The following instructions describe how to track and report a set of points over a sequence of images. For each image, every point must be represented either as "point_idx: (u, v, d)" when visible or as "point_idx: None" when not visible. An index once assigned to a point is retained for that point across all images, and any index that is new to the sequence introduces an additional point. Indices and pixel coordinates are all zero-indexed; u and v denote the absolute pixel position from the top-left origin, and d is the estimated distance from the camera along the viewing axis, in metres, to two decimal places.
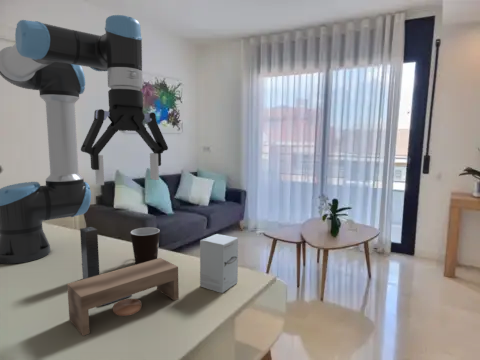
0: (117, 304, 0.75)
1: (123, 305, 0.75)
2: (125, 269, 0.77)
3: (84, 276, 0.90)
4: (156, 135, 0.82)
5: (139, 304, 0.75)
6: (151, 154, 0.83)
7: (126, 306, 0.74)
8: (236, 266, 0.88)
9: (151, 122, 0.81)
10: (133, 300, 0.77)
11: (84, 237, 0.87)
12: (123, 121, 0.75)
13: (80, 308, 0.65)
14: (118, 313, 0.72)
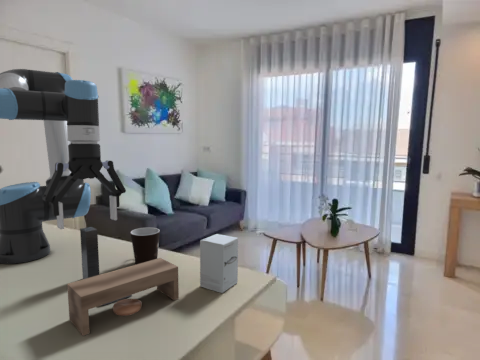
0: (117, 304, 0.75)
1: (123, 305, 0.75)
2: (125, 269, 0.77)
3: (84, 276, 0.90)
4: (114, 180, 0.92)
5: (139, 303, 0.76)
6: (110, 197, 0.92)
7: (126, 305, 0.74)
8: (236, 266, 0.88)
9: (109, 169, 0.90)
10: (132, 300, 0.77)
11: (84, 237, 0.87)
12: (81, 171, 0.84)
13: (80, 308, 0.65)
14: (119, 312, 0.72)
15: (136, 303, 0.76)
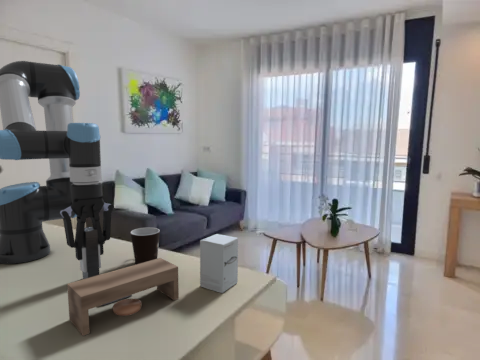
0: (116, 305, 0.75)
1: (123, 305, 0.75)
2: (125, 269, 0.77)
3: (84, 276, 0.90)
4: (105, 224, 0.91)
5: (139, 302, 0.76)
6: None
7: (127, 305, 0.74)
8: (236, 266, 0.88)
9: (106, 212, 0.91)
10: (130, 300, 0.77)
11: (84, 237, 0.87)
12: (85, 212, 0.86)
13: (80, 308, 0.65)
14: (122, 312, 0.72)
15: (136, 302, 0.76)
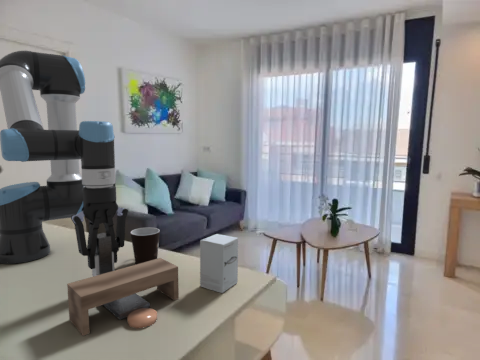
0: (131, 317, 0.69)
1: (138, 316, 0.70)
2: (125, 269, 0.77)
3: None
4: (119, 230, 0.85)
5: (155, 312, 0.72)
6: None
7: (143, 316, 0.70)
8: (236, 266, 0.88)
9: (120, 217, 0.85)
10: (144, 310, 0.72)
11: (97, 244, 0.81)
12: (98, 217, 0.80)
13: (80, 308, 0.65)
14: (139, 325, 0.67)
15: (151, 312, 0.71)
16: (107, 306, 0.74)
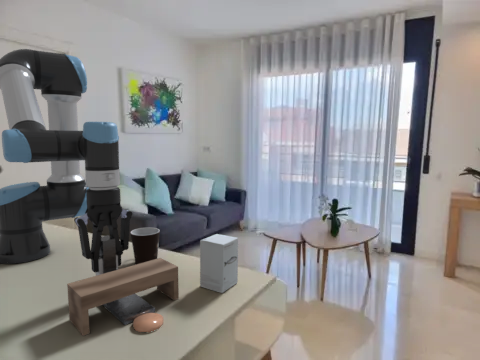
0: (137, 322, 0.68)
1: (144, 321, 0.68)
2: (125, 269, 0.77)
3: None
4: (123, 232, 0.83)
5: (161, 316, 0.70)
6: None
7: (149, 322, 0.68)
8: (236, 266, 0.88)
9: (125, 219, 0.83)
10: (149, 314, 0.71)
11: (101, 247, 0.79)
12: (102, 219, 0.78)
13: (80, 308, 0.65)
14: (146, 330, 0.66)
15: (157, 317, 0.70)
16: (111, 311, 0.73)
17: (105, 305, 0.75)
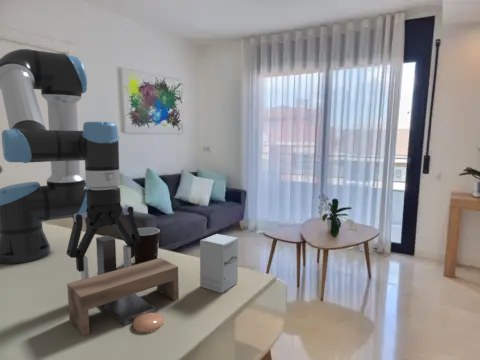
0: (137, 322, 0.68)
1: (144, 321, 0.68)
2: (125, 269, 0.77)
3: None
4: (131, 227, 0.85)
5: (161, 316, 0.70)
6: (124, 247, 0.85)
7: (149, 321, 0.68)
8: (236, 266, 0.88)
9: (128, 215, 0.84)
10: (149, 314, 0.71)
11: (101, 247, 0.79)
12: (101, 219, 0.78)
13: (80, 308, 0.65)
14: (146, 330, 0.66)
15: (157, 317, 0.70)
16: (112, 311, 0.73)
17: (105, 305, 0.75)
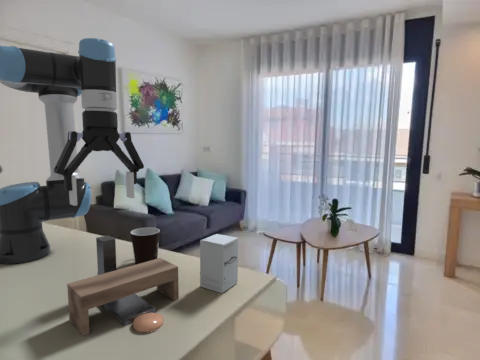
0: (137, 322, 0.68)
1: (144, 321, 0.68)
2: (125, 269, 0.77)
3: None
4: (132, 154, 0.83)
5: (161, 316, 0.70)
6: (127, 172, 0.84)
7: (149, 321, 0.68)
8: (236, 266, 0.88)
9: (126, 141, 0.81)
10: (149, 314, 0.71)
11: (101, 247, 0.79)
12: (97, 142, 0.75)
13: (80, 308, 0.65)
14: (146, 330, 0.66)
15: (157, 317, 0.70)
16: (112, 311, 0.73)
17: (105, 305, 0.75)
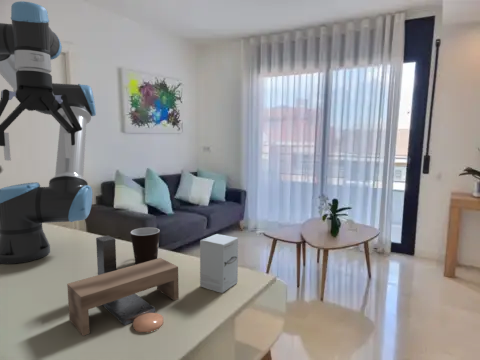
0: (137, 322, 0.68)
1: (144, 321, 0.68)
2: (125, 269, 0.77)
3: None
4: (69, 116, 0.87)
5: (161, 316, 0.70)
6: (65, 134, 0.88)
7: (149, 321, 0.68)
8: (236, 266, 0.88)
9: (62, 103, 0.86)
10: (149, 314, 0.71)
11: (101, 247, 0.79)
12: (30, 101, 0.80)
13: (80, 308, 0.65)
14: (146, 330, 0.66)
15: (157, 317, 0.70)
16: (112, 311, 0.73)
17: (105, 305, 0.75)
